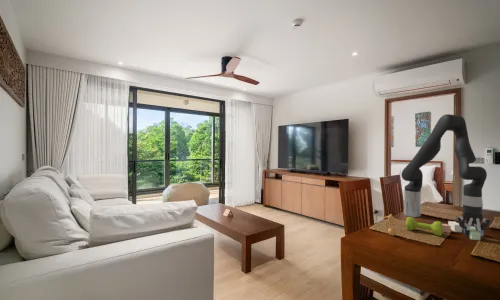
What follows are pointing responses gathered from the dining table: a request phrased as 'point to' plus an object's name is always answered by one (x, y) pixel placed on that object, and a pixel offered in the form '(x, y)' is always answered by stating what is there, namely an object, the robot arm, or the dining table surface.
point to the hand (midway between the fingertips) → (472, 236)
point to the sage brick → (474, 234)
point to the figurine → (390, 230)
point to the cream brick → (455, 226)
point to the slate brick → (474, 227)
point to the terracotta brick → (446, 228)
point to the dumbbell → (424, 226)
